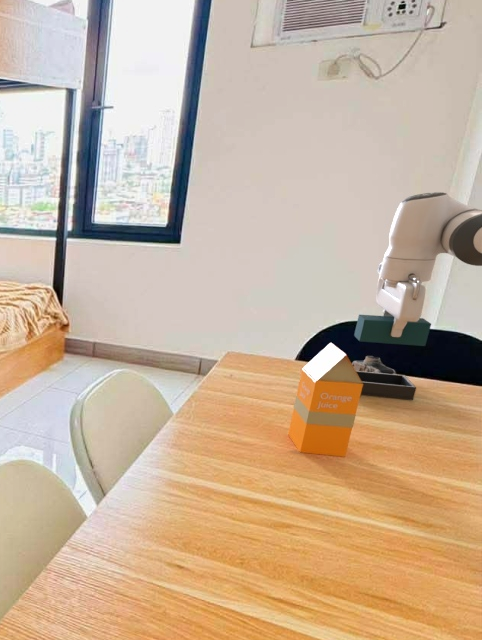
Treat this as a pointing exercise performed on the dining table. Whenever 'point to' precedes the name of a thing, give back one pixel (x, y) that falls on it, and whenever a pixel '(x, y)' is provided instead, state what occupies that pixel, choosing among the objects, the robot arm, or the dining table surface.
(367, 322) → the dark teal block
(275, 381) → the dining table surface
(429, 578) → the dining table surface
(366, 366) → the grey shoe
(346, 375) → the orange juice
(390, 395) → the dark grey tray
